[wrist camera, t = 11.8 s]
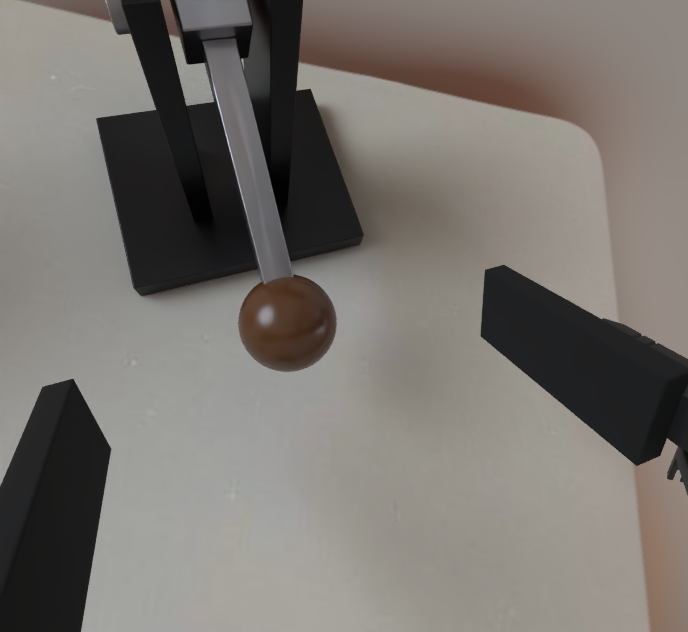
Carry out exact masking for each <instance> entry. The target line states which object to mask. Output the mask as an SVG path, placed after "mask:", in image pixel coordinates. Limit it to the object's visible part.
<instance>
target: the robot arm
mask: <svg viewBox="0 0 688 632" xmlns="http://www.w3.org/2000/svg"><path fill="white" fill-rule="evenodd" d="M481 337H482V338H483V339H485V340H486V341H487V342H488V343H489V344H491V345H492V346H493V347H494V348H495V349H497V350H498V351H499V352H500V353H501V354H503V355H504V356H505V357H506V358H507V359H509V360H510V361H511V362H512V363H513V364H515V365H516V366H517V367H518V368H520V369H521V370H522V371H523V372H524V373H526V374H527V375H528V376H529V377H530V378H532V379H533V380H534V381H535V382H536V383H538V384H539V385H540V386H541V387H542V388H544V389H545V390H546V391H547V392H548V393H550V394H551V395H552V396H553V397H554V398H556V399H557V400H558V401H559V402H560V403H562V404H563V405H564V406H565V407H566V408H568V409H569V410H570V411H571V412H572V413H574V414H575V415H576V416H577V417H578V418H580V419H581V420H582V421H583V422H584V423H586V424H587V425H588V426H589V427H590V428H592V429H593V430H594V431H595V432H597V433H598V434H599V435H600V436H601V437H603V438H604V439H605V440H606V441H607V442H609V443H610V444H611V445H612V446H613V447H615V448H616V449H617V450H618V451H619V452H621V453H622V454H623V455H624V456H625V457H627V458H628V459H629V460H630V461H631V462H633V463H634V464H635V465H636V466H638V465H640V464H642V463H645V462H647V461H649V460H651V459H654V458H656V457H658V456H660V455H661V452H662V449H663V447H664V444H665V442H666V439H667V438H668V439H669V440H671V441H672V442H673V443H675V444H676V445H678V448H677V450H676V453H675V455H674V458H673V460H672V463H671V465H670V467H669V470H668V473H667V474H668V475H667V479H670V480H673V478H674V476H675V473H676V471H677V470H678V469H679V470H680V473H681V476H682V477H681V479H680V482H684V485H685V488H686V491H687V495H688V359H686V358H685V357H683V356H681V355H679V354H677V353H676V352H674V351H672V350H670V349H668V348H666V347H664V346H663V345H661V344H659V343H658V344H656V343H655V341H653V340H652V339H650V338H648V337H646V336H641V334H640V333H639V332H637V331H635V330H633V329H631V328H629V327H627V326H626V325H624V324H620V323H617V322H614V321H611V320H607V319H600V318H598V317H597V316H595V315H593V314H591V313H589V312H588V311H586V310H584V309H582V308H580V307H579V306H577V305H575V304H573V303H571V302H570V301H568V300H566V299H564V298H562V297H561V296H559V295H557V294H555V293H553V292H552V291H550V290H548V289H546V288H545V287H543V286H541V285H539V284H537V283H536V282H534V281H532V280H530V279H528V278H527V277H525V276H523V275H521V274H519V273H518V272H516V271H514V270H512V269H510V268H509V267H507V266H505V265H501V266H498V267H494V268H490V269H486V270H485V278H484V293H483V307H482V322H481ZM110 453H111V448H110V446H109V444H108V442H107V440H106V439H105V437H104V435H103V433H102V431H101V429H100V427H99V426H98V424H97V422H96V420H95V418H94V416H93V414H92V413H91V411H90V409H89V407H88V405H87V403H86V401H85V400H84V398H83V396H82V394H81V392H80V390H79V388H78V387H77V385H76V383H75V381H74V379H70V380H67V381H63V382H59V383H55V384H52V385H48V386H44V387H42V389H41V392H40V394H39V396H38V399H37V401H36V404H35V406H34V408H33V411H32V413H31V415H30V418H29V420H28V422H27V425H26V427H25V430H24V432H23V434H22V437H21V439H20V441H19V444H18V446H17V448H16V451H15V453H14V456H13V458H12V460H11V463H10V465H9V467H8V470H7V472H6V475H5V477H4V479H3V482H2V484H1V486H0V632H81V627H82V621H83V615H84V609H85V603H86V597H87V591H88V585H89V579H90V573H91V567H92V561H93V555H94V549H95V543H96V537H97V531H98V525H99V519H100V513H101V507H102V501H103V495H104V489H105V483H106V477H107V471H108V465H109V459H110Z"/></svg>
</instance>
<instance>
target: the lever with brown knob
mask: <svg viewBox="0 0 688 632" xmlns="http://www.w3.org/2000/svg"><path fill="white" fill-rule="evenodd" d="M170 2H171V6H172V10H173V14H174V17H175V21H176V25H177V28H178V33H179V36H180V40H181V44H182V48H183V51H184V55H185V59H186V62H187V64H198V63H205V67H206V70H207V74H208V78H209V82H210V86H211V90H212V94H213V98H214V101H215V105H216V109H217V113H218V117H219V121H220V125H221V128H222V132H223V136H224V140H225V144H226V148H227V152H228V156H229V159H230V163H231V167H232V171H233V175H234V179H235V183H236V187H237V190H238V194H239V198H240V202H241V206H242V210H243V214H244V217H245V221H246V225H247V229H248V233H249V237H250V241H251V245H252V248H253V252H254V256H255V260H256V264H257V268H258V272H259V276H260V279H261V283H259V284H258V285H257V286H255V287H254V288H253V289H252V290H251V291H250V292H249V294H248V295H247V297H246V298H245V300H244V302H243V304H242V307H241V309H240V314H239V322H238V325H239V333H240V337H241V340H242V343H243V345H244V347H245V348H246V350H247V351H248V353H249V354H250V355H251V356H252V357H253V358H254V359H255V360H256V361H257V362H259V363H260V364H262V365H263V366H265V367H267V368H270V369H273V370H276V371H282V372H292V371H298V370H302V369H305V368H308V367H309V366H311V365H313V364H315V363H316V362H318V361H319V360H320V359H321V358H322V357H323V356H324V355H325V354H326V352H327V351H328V350H329V348H330V346H331V344H332V342H333V340H334V337H335V333H336V325H337V322H336V313H335V309H334V306H333V304H332V302H331V300H330V298H329V296H328V295H327V294H326V292H325V291H324V290H323V289H322V288H321V287H320V286H319V285H317V284H316V283H315V282H313V281H311V280H309V279H307V278H305V277H302V276H298V275H293V271H292V267H291V263H290V259H289V255H288V250H287V246H286V242H285V238H284V234H283V230H282V226H281V222H280V218H279V213H278V209H277V205H276V201H275V197H274V193H273V189H272V185H271V181H270V177H269V172H268V168H267V164H266V160H265V156H264V152H263V148H262V144H261V140H260V136H259V131H258V127H257V123H256V119H255V115H254V111H253V107H252V103H251V99H250V94H249V90H248V86H247V82H246V78H245V74H244V70H243V66H242V62H241V58H248V56H249V49H250V42H251V35H252V29H253V19H252V15H251V10H250V6H249V2H248V0H170Z"/></svg>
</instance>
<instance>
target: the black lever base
mask: <svg viewBox="0 0 688 632" xmlns="http://www.w3.org/2000/svg"><path fill="white" fill-rule="evenodd" d="M105 2H106V6H107V8H108V12H109V14H110V18H111V20H112V23H113V26H114V28H115V31H116V33H117V34H119V35H121V34H131V36H132V39H133V42H134V45H135V48H136V51H137V54H138V57H139V59H140V62H141V65H142V68H143V71H144V74H145V77H146V80H147V83H148V86H149V89H150V92H151V95H152V98H153V101H154V104H155V107H156V110H153V111H146V112H138V113H131V114H124V115H117V116H109V117H102V118H97V119H96V120H97V125H98V129H99V134H100V138H101V143H102V147H103V152H104V157H105V161H106V166H107V170H108V175H109V179H110V184H111V188H112V193H113V197H114V202H115V206H116V211H117V215H118V220H119V224H120V229H121V233H122V238H123V242H124V247H125V251H126V256H127V261H128V265H129V270H130V274H131V279H132V283H133V288H134V289H135V290H136V291H137V292H138V294H139V295H140V296H143V295H147V294H151V293H155V292H160V291H164V290H168V289H173V288H177V287H181V286H185V285H190V284H194V283H198V282H202V281H207V280H211V279H215V278H219V277H224V276H228V275H232V274H237V273H241V272H245V271H249V270H254V269H258V268H257V264H256V260H255V256H254V252H253V248H252V245H251V241H250V237H249V233H248V229H247V225H246V221H245V217H244V214H243V210H242V206H241V202H240V198H239V194H238V190H237V187H236V183H235V179H234V175H233V171H232V167H231V163H230V159H229V156H228V152H227V148H226V144H225V140H224V136H223V132H222V128H221V125H220V121H219V117H218V113H217V109H216V105H215V102H211V103H204V104H197V105H189V106H186V103H185V99H184V95H183V91H182V87H181V83H180V79H179V75H178V70H177V66H176V62H175V58H174V54H173V50H172V46H171V42H170V38H169V34H168V30H167V25H166V22H165V18H164V14H163V9H162V6H161V1H160V0H105ZM248 2H249V6H250V10H251V15H252V19H253V29H252V35H251V42H250V49H249V56H248V58H243V59H244V74H245V78H246V82H247V86H248V90H249V94H250V99H251V103H252V107H253V111H254V115H255V119H256V123H257V127H258V131H259V136H260V140H261V144H262V148H263V152H264V156H265V160H266V164H267V168H268V172H269V177H270V181H271V185H272V189H273V193H274V197H275V201H276V205H277V209H278V213H279V218H280V222H281V226H282V230H283V234H284V238H285V242H286V246H287V250H288V255H289V259H290V261H292V260H296V259H301V258H305V257H309V256H313V255H318V254H322V253H326V252H330V251H335V250H339V249H343V248H348V247H352V246H356V245H360V243H361V241H362V238H363V236H364V234H363V231H362V228H361V226H360V223H359V220H358V218H357V215H356V212H355V209H354V207H353V204H352V201H351V198H350V196H349V193H348V190H347V187H346V185H345V182H344V179H343V176H342V174H341V171H340V168H339V165H338V163H337V160H336V157H335V155H334V152H333V149H332V146H331V144H330V141H329V138H328V135H327V133H326V130H325V127H324V124H323V122H322V119H321V116H320V113H319V111H318V108H317V105H316V102H315V100H314V97H313V94H312V91H311V89H306V90H299V91H296V87H297V74H298V61H299V47H300V33H301V21H302V7H303V0H248Z"/></svg>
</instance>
